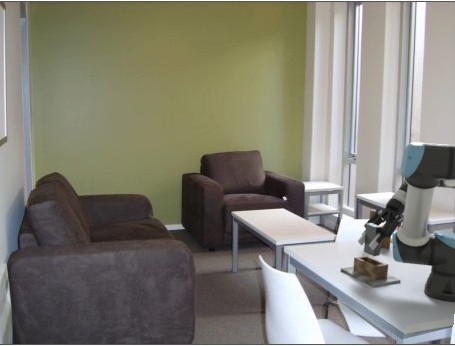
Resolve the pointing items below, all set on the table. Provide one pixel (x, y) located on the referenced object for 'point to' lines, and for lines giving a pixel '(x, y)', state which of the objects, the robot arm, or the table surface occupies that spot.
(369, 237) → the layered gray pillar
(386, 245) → the wooden angular frame
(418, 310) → the table surface
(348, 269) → the post slot
